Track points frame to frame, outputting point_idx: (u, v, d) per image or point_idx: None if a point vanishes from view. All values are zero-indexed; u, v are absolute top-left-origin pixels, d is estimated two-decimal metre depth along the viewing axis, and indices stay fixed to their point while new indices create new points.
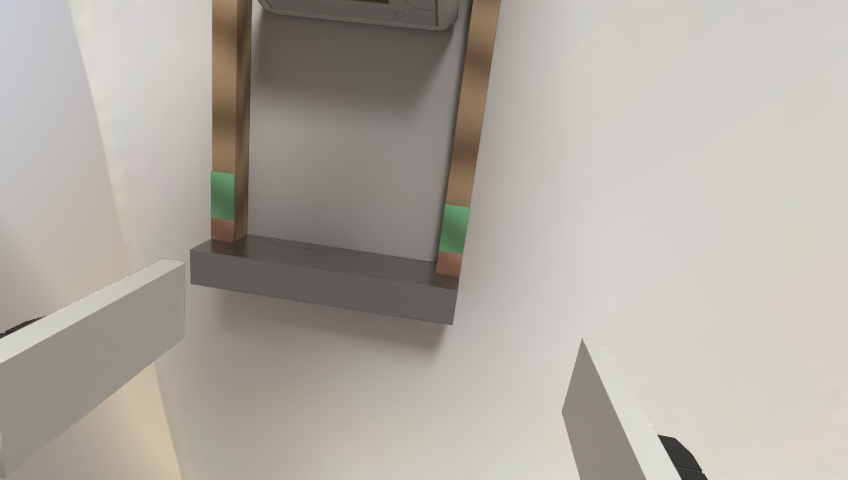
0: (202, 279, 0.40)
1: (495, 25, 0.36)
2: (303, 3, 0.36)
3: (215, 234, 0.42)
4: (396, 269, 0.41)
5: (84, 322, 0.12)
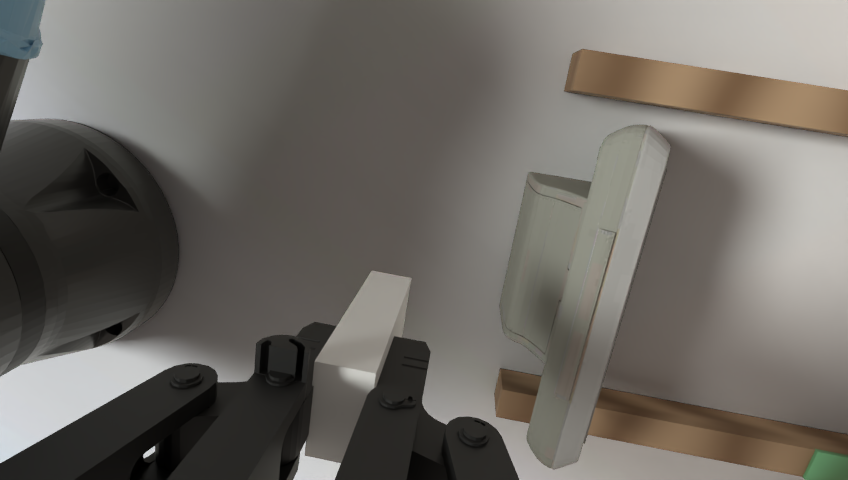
0: None
1: (685, 67, 0.24)
2: None
3: None
4: None
5: None
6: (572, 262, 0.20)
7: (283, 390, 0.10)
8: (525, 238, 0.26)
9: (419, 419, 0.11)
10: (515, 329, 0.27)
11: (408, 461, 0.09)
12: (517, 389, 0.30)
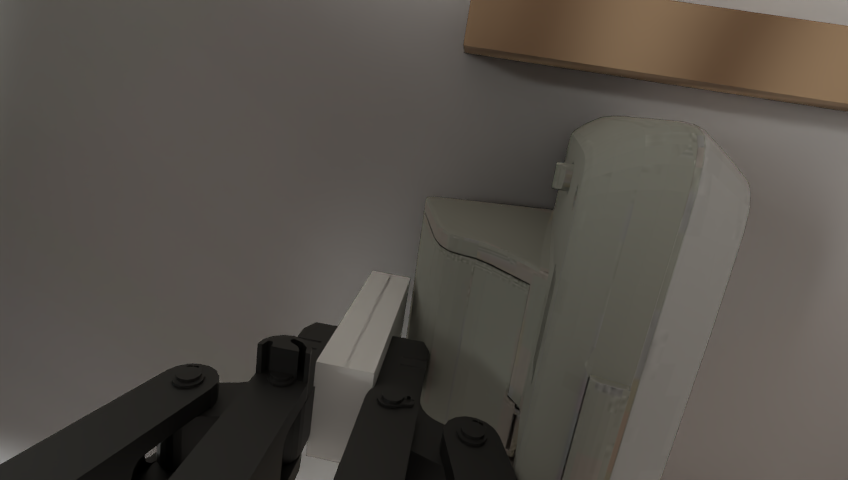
0: None
1: (653, 2, 0.14)
2: None
3: None
4: None
5: None
6: (527, 436, 0.09)
7: (285, 390, 0.10)
8: (426, 326, 0.14)
9: (417, 419, 0.11)
10: None
11: (407, 461, 0.09)
12: None
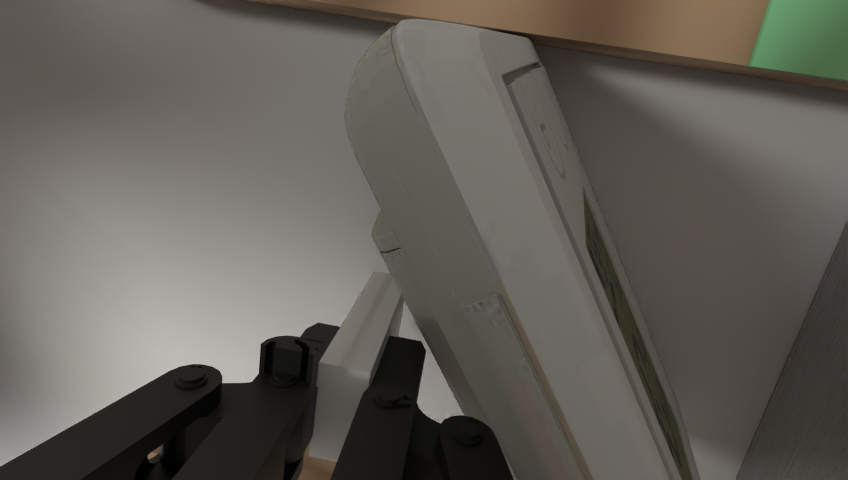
0: None
1: None
2: (658, 362, 0.16)
3: None
4: None
5: None
6: (472, 388, 0.08)
7: (288, 391, 0.10)
8: (419, 327, 0.14)
9: (414, 418, 0.11)
10: None
11: (403, 460, 0.09)
12: None
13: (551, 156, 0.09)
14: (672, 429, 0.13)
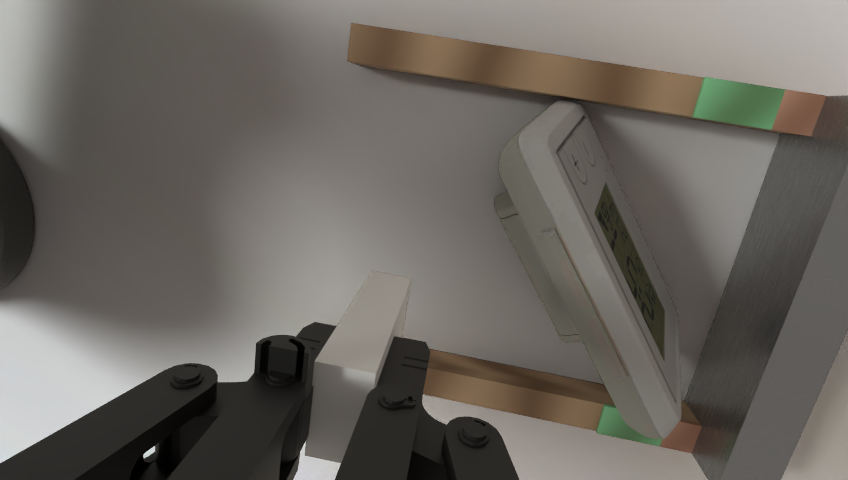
0: None
1: (442, 39, 0.26)
2: (656, 278, 0.28)
3: (686, 446, 0.31)
4: (795, 199, 0.25)
5: None
6: (546, 267, 0.22)
7: (283, 390, 0.10)
8: None
9: (419, 419, 0.11)
10: (566, 332, 0.28)
11: (408, 461, 0.09)
12: None
13: (578, 176, 0.22)
14: (654, 307, 0.26)
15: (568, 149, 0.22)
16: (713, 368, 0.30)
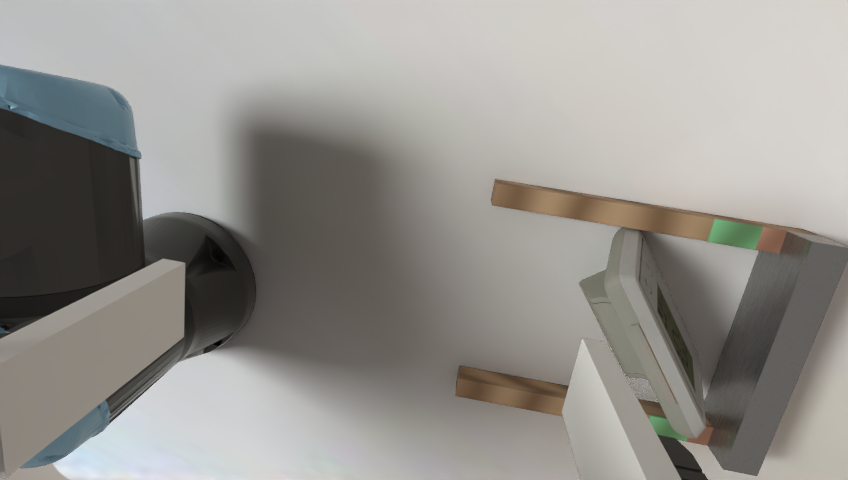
0: (754, 465, 0.44)
1: (553, 194, 0.43)
2: (686, 337, 0.44)
3: (703, 441, 0.47)
4: (770, 291, 0.42)
5: (84, 322, 0.12)
6: (630, 342, 0.38)
7: None
8: (602, 325, 0.44)
9: None
10: (631, 371, 0.44)
11: None
12: (468, 378, 0.49)
13: (648, 290, 0.38)
14: (687, 358, 0.42)
15: (642, 275, 0.38)
16: (720, 390, 0.47)
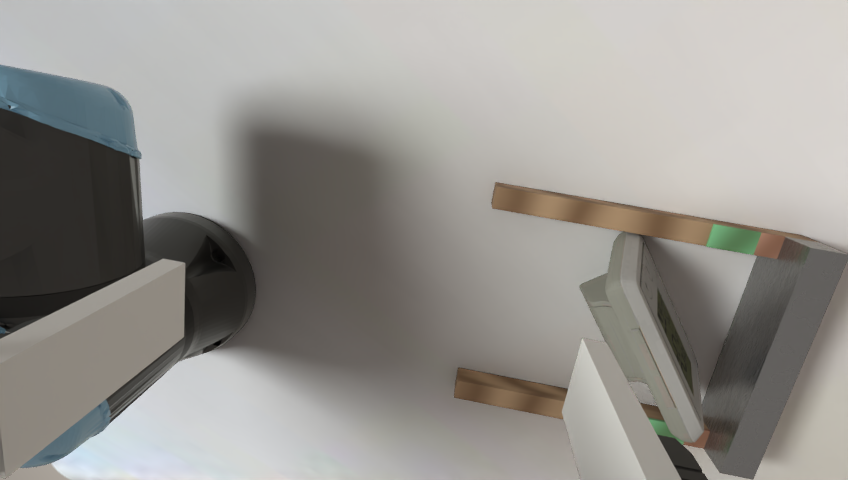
0: (750, 469, 0.44)
1: (554, 197, 0.43)
2: (685, 342, 0.45)
3: (700, 444, 0.48)
4: (767, 296, 0.42)
5: (84, 322, 0.12)
6: (630, 346, 0.38)
7: None
8: (601, 329, 0.44)
9: None
10: (629, 375, 0.44)
11: None
12: (466, 380, 0.49)
13: (649, 295, 0.38)
14: (686, 362, 0.42)
15: (643, 279, 0.38)
16: (717, 394, 0.47)
